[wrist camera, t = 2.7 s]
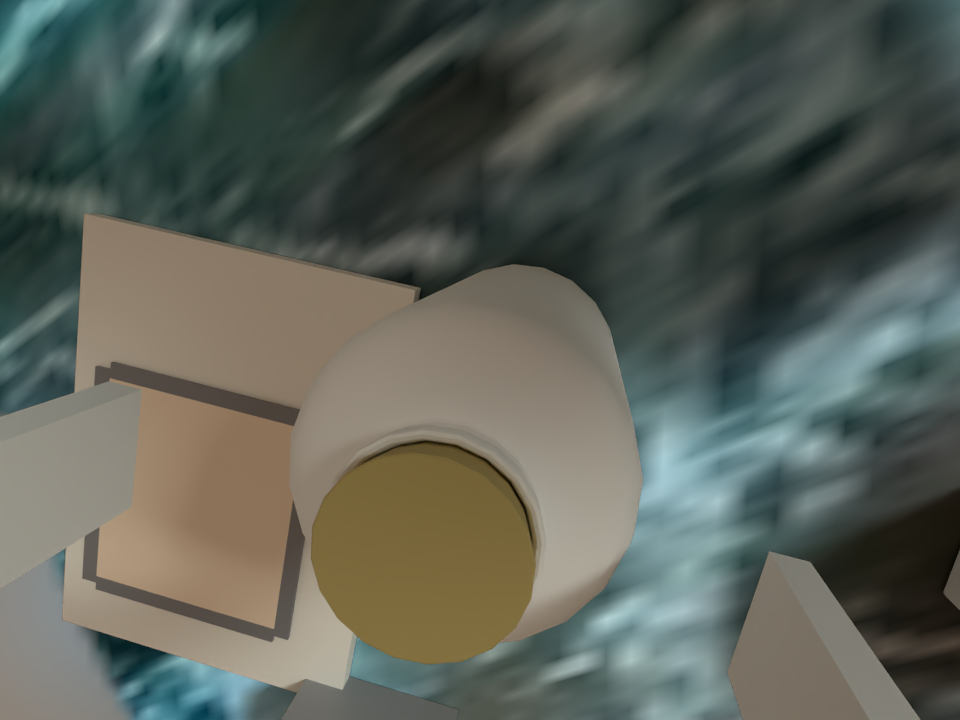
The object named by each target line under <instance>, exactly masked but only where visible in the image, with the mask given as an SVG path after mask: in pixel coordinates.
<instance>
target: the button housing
mask: <svg viewBox="0 0 960 720" xmlns="http://www.w3.org/2000/svg"><path fill="white" fill-rule="evenodd" d="M458 711H459V710H458V709H455V708H451V707H448V706H445V705H442V704H438V703H435V702H432V701H428V700H425V699H422V698H419V697H415V696H412V695H409V694H405V693H402V692H399V691H395V690H392V689H389V688H386V687H382V686H379V685H376V684H372V683H369V682H366V681H363V680H359V679H356V678H353V677H349V678H348V680H347V682H346V684H345V686H344V688H343V690H341V689H338V688H335V687H331V686H328V685H325V684H321V683H318V682H315V681H312V680H308V679H305V681H304V683H303V684H302V686H301V687H300V689H299V691H298V692H297V694H296V696H295V697H294V699H293V701H292V702H291V704H290V705H289V707H288V709H287V710H286V712H285V714H284V715H283V717H282V719H281V720H456V719H457V715H458Z"/></svg>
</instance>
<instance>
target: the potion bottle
mask: <svg viewBox="0 0 960 720" xmlns="http://www.w3.org/2000/svg"><path fill="white" fill-rule="evenodd" d="M642 484H643V476H642V470H641V464H640V459H639V453H638V447H637V441H636V436H635V430H634V424H633V420H632V416H631V412H630V408H629V404H628V400H627V396H626V392H625V388H624V384H623V380H622V376H621V372H620V368H619V364H618V359H617V355H616V351H615V347H614V343H613V339H612V335H611V331H610V328H609V326H608V325H607V323H606V321H605V319H604V317H603V315H602V314H601V312H600V310H599V308H598V306H597V304H596V303H595V301H594V300H592V299H591V298H590V297H589V296H588V295H587V294H586V293H585V292H584V291H583V290H582V289H581V288H580V287H579V286H577V285H576V284H575V283H574V282H573V281H572V280H570V279H567V278H565V277H563V276H561V275H559V274H557V273H554V272H552V271H550V270H548V269H546V268H542V267H533V266H524V265H516V264H512V265H507V266H502V267H497V268H493V269H488V270H483V271H481V272H479V273H477V274H475V275H472V276H470V277H468V278H466V279H464V280H462V281H460V282H457V283H455V284H453V285H451V286H449V287H447V288H445V289H442V290H440V291H438V292H436V293H434V294H432V295H430V296H427V297H425V298H423V299H421V300H419V301H417V302H415V303H412V304H410V305H408V306H406V307H404V308H402V309H400V310H397V311H395V312H393V313H392V314H390V315H388V316H387V317H385V318H383V319H381V320H380V321H378V322H376V323H375V324H373V325H371V326H369V327H368V328H366V329H364V330H363V331H361V332H359V333H357V334H356V335H354V336H352V337H351V338H349V339H348V340H347V341H346V342H345V343H344V344H343V345H342V347H341V348H340V349H339V350H338V351H337V353H336V354H335V355H334V356H333V357H332V358H331V360H330V361H329V362H328V363H327V364H326V366H325V367H324V368H323V369H322V370H321V371H320V373H319V374H318V375H317V376H316V377H315V378H314V380H313V382H312V383H311V385H310V386H309V388H308V391H307V393H306V396H305V399H304V401H303V404H302V406H301V409H300V412H299V414H298V417H297V420H296V422H295V425H294V427H293V430H292V433H291V446H290V473H289V486H290V490H291V493H292V497H293V500H294V504H295V507H296V511H297V515H298V518H299V522H300V525H301V529H302V533H303V535H304V536H305V538H306V539H307V541H308V543H309V544H310V546H311V561H312V565H313V568H314V572H315V576H316V579H317V583H318V586H319V590H320V592H321V593H322V595H323V596H324V598H325V599H326V601H327V603H328V604H329V606H330V607H331V609H332V611H333V612H334V614H335V615H336V617H337V618H338V619H339V620H340V621H341V622H342V623H343V624H344V625H345V626H346V627H347V628H349V629H350V630H351V631H352V632H353V633H354V634H355V635H356V636H357V637H359V638H360V639H361V640H362V641H363V642H365V643H367V644H369V645H371V646H373V647H374V648H376V649H378V650H380V651H382V652H384V653H386V654H388V655H390V656H392V657H394V658H399V659H404V660H409V661H414V662H419V663H424V664H437V663H450V662H462V661H464V660H466V659H469V658H471V657H474V656H476V655H479V654H481V653H483V652H486V651H488V650H491V649H492V648H494V647H495V646H496V645H497V644H498V643H499V642H511V641H519V640H522V639H524V638H526V637H529V636H531V635H534V634H536V633H539V632H541V631H544V630H546V629H548V628H551V627H553V626H556V625H558V624H561V623H563V622H566V621H567V620H568V619H569V618H570V617H572V616H573V615H574V614H575V613H576V612H577V611H579V610H580V609H581V608H582V607H583V606H584V605H586V604H587V603H588V602H589V601H590V600H591V599H592V598H594V597H595V596H596V595H597V594H598V593H599V592H601V591H602V590H603V589H604V588H605V587H606V585H607V583H608V582H609V580H610V578H611V576H612V575H613V573H614V571H615V569H616V568H617V566H618V564H619V562H620V561H621V559H622V557H623V555H624V554H625V552H626V550H627V548H628V547H629V545H630V543H631V540H632V537H633V534H634V530H635V524H636V519H637V513H638V507H639V501H640V495H641V490H642Z"/></svg>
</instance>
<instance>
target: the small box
mask: <svg viewBox="0 0 960 720" xmlns="http://www.w3.org/2000/svg"><path fill="white" fill-rule="evenodd" d="M943 593H944V595H945V596H946V597H947V598H948V599H949V600H950V601H951V602H952V603H953V604H954V605H955V606H956V607H957V608H958V609H959V610H960V550H959V553H958V555H957V558H956V561H955V563H954V566H953V568H952V571H951V573H950V576H949V579H948V581H947V584H946V586H945V589H944V592H943Z"/></svg>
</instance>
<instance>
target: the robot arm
mask: <svg viewBox="0 0 960 720" xmlns="http://www.w3.org/2000/svg"><path fill="white" fill-rule="evenodd" d="M141 395H142V390H141V389H137V388H133V387H129V386H126V385H122V384H118V383H114V382H110V381H108V382H105V383H102V384H99V385H96V386H93V387H90V388H87V389H84V390H81V391H78V392H75V393H72V394H69V395H66V396H63V397H60V398H57V399H54V400H50V401H47V402H44V403H41V404H38V405H35V406H32V407H29V408H26V409H23V410H20V411H17V412H14V413H11V414H8V415H5V416H2V417H0V589H1V588H3V587H4V586H6V585H8V584H9V583H11V582H12V581H14V580H16V579H17V578H19V577H20V576H22V575H24V574H25V573H27V572H28V571H30V570H32V569H33V568H35V567H36V566H38V565H40V564H41V563H43V562H44V561H46V560H48V559H49V558H51V557H52V556H54V555H56V554H57V553H59V552H60V551H62V550H63V549H65V548H67V547H68V546H70V545H71V544H73V543H75V542H76V541H78V540H79V539H81V538H83V537H84V536H86V535H87V534H89V533H91V532H92V531H94V530H95V529H97V528H99V527H100V526H102V525H103V524H105V523H107V522H108V521H110V520H111V519H113V518H115V517H116V516H118V515H119V514H121V513H123V512H124V511H126V510H127V509H129V508H130V507H132V498H133V487H134V476H135V464H136V453H137V441H138V430H139V418H140V407H141ZM727 673H728V676H729V679H730V682H731V685H732V688H733V691H734V694H735V697H736V700H737V703H738V706H739V709H740V712H741V715H742V718H743V720H920V719H919V717H918V716H917V714H916V713H915V711H914V710H913V709H912V707H911V706H910V704H909V703H908V701H907V700H906V698H905V697H904V696H903V694H902V693H901V691H900V690H899V688H898V687H897V686H896V684H895V683H894V681H893V680H892V678H891V677H890V676H889V674H888V673H887V671H886V670H885V668H884V667H883V666H882V664H881V663H880V661H879V660H878V658H877V657H876V656H875V654H874V653H873V651H872V650H871V648H870V647H869V646H868V644H867V643H866V641H865V640H864V638H863V637H862V635H861V634H860V633H859V631H858V630H857V628H856V627H855V625H854V624H853V623H852V621H851V620H850V618H849V617H848V615H847V614H846V613H845V611H844V610H843V608H842V607H841V605H840V604H839V603H838V601H837V600H836V598H835V597H834V595H833V594H832V593H831V591H830V590H829V588H828V587H827V585H826V584H825V582H824V581H823V580H822V578H821V577H820V575H819V574H818V572H817V571H816V570H815V568H814V567H813V565H812V564H811V562H808V561H804V560H801V559H797V558H793V557H789V556H785V555H781V554H777V553H773V552H770V551H769V554H768V557H767V560H766V563H765V565H764V568H763V571H762V574H761V577H760V580H759V583H758V586H757V588H756V591H755V594H754V597H753V600H752V603H751V606H750V608H749V611H748V614H747V617H746V620H745V623H744V626H743V629H742V631H741V634H740V637H739V640H738V643H737V646H736V649H735V651H734V654H733V657H732V660H731V663H730V666H729V669H728V671H727Z"/></svg>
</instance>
